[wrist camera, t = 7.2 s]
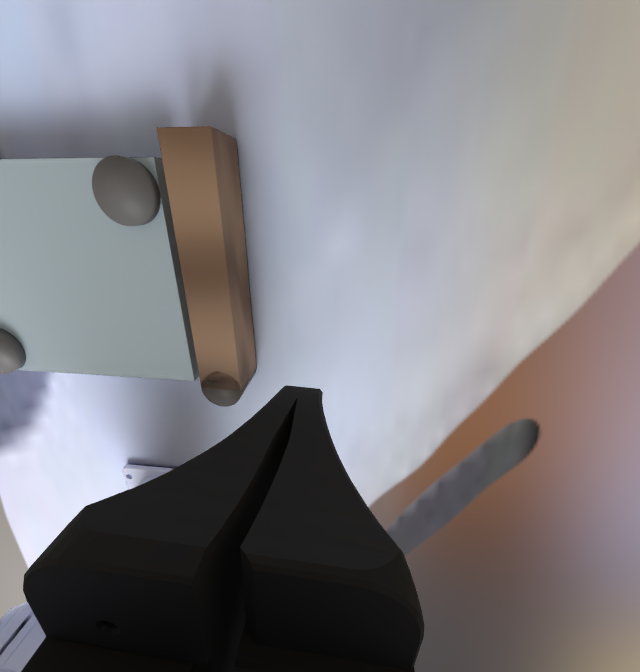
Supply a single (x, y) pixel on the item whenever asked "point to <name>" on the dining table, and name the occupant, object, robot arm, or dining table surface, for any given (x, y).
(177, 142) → the folding leg
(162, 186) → the grey flat block
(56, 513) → the dining table surface
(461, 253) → the dining table surface
